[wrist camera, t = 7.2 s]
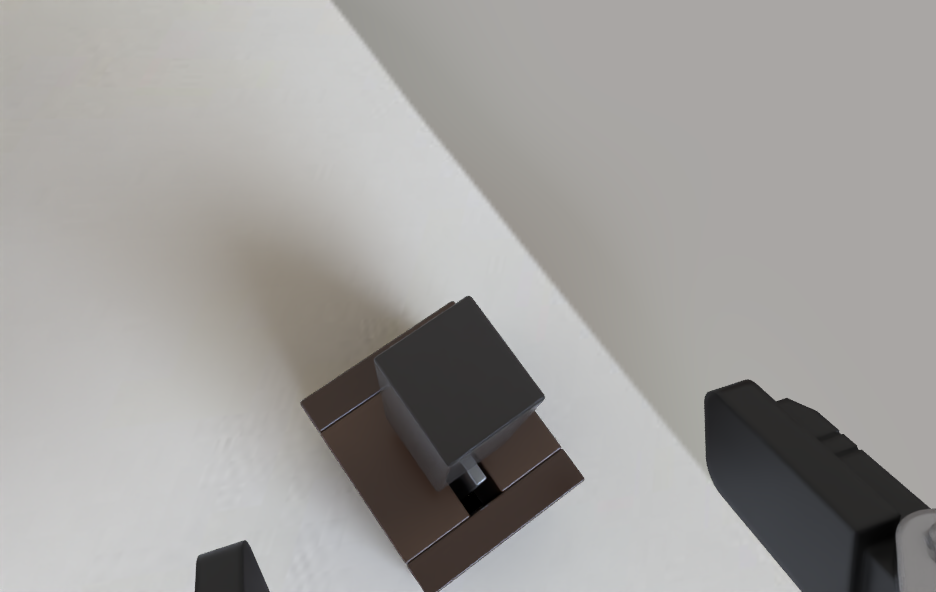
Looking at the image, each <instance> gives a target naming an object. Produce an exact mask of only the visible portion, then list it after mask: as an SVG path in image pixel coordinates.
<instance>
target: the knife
mask: <svg viewBox="0 0 936 592" xmlns="http://www.w3.org/2000/svg"><path fill="white" fill-rule="evenodd" d="M374 363H375V368H376V373H377V377H378V382H379V387H380V392H381V397H382V402H383V406H384V411H385V416H386V419H387V420H388V422H389V423H390V425H391V426H392V427H393V429H394V430H395V432H396V433H397V435H398V436H399V438H400V439H401V441H402V442H403V444H404V445H405V446H406V448H407V449H408V451H409V452H410V454H411V455H412V457H413V458H414V460H415V461H416V463H417V464H418V465H419V467H420V468H421V470H422V471H423V473H424V474H425V476H426V477H427V479H428V480H429V481H430V483H431V484H432V486H433V487H434V489H435V490H436V491H437V492H439V491H441V490H442V489H444V488H445V487H446V486H448V485H449V486H450V487H451V489H452V490H453V491H454V493H455V494H456V496H457V497H458V499H459V500H460V502H461V501H462V500H463V499H465V498H466V497H467V496H468V495H469V494H470V493H471V492H472V491H473V490H475V489H476V488H477V487H478V486H479V485H480V484H481V483H482V482H483V481H484V480H486V476H485V475H484V473H483V472H482V470H481V469H480V468H479V466H478V465H477V464H478V463H479V462H481V461H482V460H483V459H485V458H486V457H487V456H489V455H490V454H492V453H493V452H494V451H496V450H497V449H498V448H500V447H501V446H502V445H504V444H505V443H506V442H507V440H508V439H509V438H510V437H511V436H512V435H513V434H514V433H515V432H516V430H517V429H518V428H519V427H520V426H521V425H522V424H523V423H524V422H525V420H526V419H527V418H528V417H529V416H530V415H531V414H532V413H533V412H534V410H535V409H536V408H537V407H538V406H539V405H540V404H541V403H542V401H543V400H544V399H545V396H544V394H543V393H542V391H541V390H540V389H539V387H538V386H537V385H536V383H535V382H534V381H533V379H532V378H531V376H530V375H529V374H528V372H527V371H526V370H525V368H524V367H523V366H522V364H521V363H520V362H519V360H518V359H517V358H516V356H515V355H514V354H513V352H512V351H511V350H510V348H509V347H508V346H507V344H506V343H505V342H504V340H503V339H502V337H501V336H500V335H499V333H498V332H497V331H496V329H495V328H494V327H493V325H492V324H491V323H490V321H489V320H488V319H487V317H486V316H485V315H484V313H483V312H482V311H481V309H480V308H479V307H478V305H477V304H476V302H475V301H474V300H473V298H472V297H470V296H466V297H465V298H463V299H462V300H460V301H459V302H457V303H456V304H454V305H453V306H451V307H450V308H448V309H447V310H445V311H444V312H442V313H441V314H439V315H438V316H436V317H435V318H433V319H432V320H430V321H429V322H427V323H426V324H424V325H423V326H421V327H420V328H418V329H417V330H415V331H414V332H412V333H411V334H409V335H408V336H406V337H405V338H403V339H402V340H400V341H399V342H397V343H396V344H394V345H393V346H391V347H390V348H388V349H387V350H385V351H384V352H382V353H381V354H379V355H378V356H376V357H375V358H374Z"/></svg>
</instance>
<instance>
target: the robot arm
mask: <svg viewBox="0 0 936 592" xmlns="http://www.w3.org/2000/svg"><path fill="white" fill-rule="evenodd" d="M704 404H705V405H704V409H705V440H706V441H705V443H706V462H707V467H708V471H709V474H710V476H711V479H712V481H713V483H714V485H715V487H716V489H717V490H718V492H719V493H720V494H721V496H722V497H723V498H724V499H725V500H726V502H727V503H728V504H729V505H730V506H731V508H732V509H733V510H734V511H735V512H736V514H737V515H738V516H739V517H740V518H741V520H742V521H743V522H744V523H745V524H746V526H747V527H748V528H749V529H750V530H751V531H752V533H753V534H754V535H755V536H756V537H757V539H758V540H759V541H760V542H761V543H762V545H763V546H764V547H765V548H766V549H767V551H768V552H769V553H770V554H771V555H772V557H773V558H774V559H775V560H776V561H777V563H778V564H779V565H780V566H781V567H782V569H783V570H784V571H785V572H786V573H787V575H788V576H789V577H790V578H791V579H792V581H793V582H794V583H795V584H796V585H797V586H798V588H799V589H800V590H801V591H802V592H936V509H931V508H929V507H928V506H927V505H926V504H924V503H923V502H922V501H921V500H920V499H919V498H917V497H916V496H915V495H914V494H913V493H912V492H910V491H909V490H908V489H907V488H906V487H905V486H903V485H902V484H901V483H900V482H899V481H898V480H896V479H895V478H894V477H893V476H892V475H890V474H889V473H888V472H887V471H886V470H885V469H883V468H882V467H881V466H880V465H879V464H878V463H877V462H876V461H874V460H873V459H872V458H871V457H870V456H869V455H867V454H866V453H865V452H864V451H863V450H858V448H857V445H856V444H854V443H853V442H852V441H851V440H850V439H849V438H847V437H846V436H845V435H844V434H840V433H839V430H838V429H837V428H836V427H835V426H833V425H832V424H831V423H830V422H829V421H828V420H827V419H825V418H824V417H823V416H822V415H821V414H820V413H818V412H817V411H815V410H813V409H811V408H808V407H806V406H804V405H802V404H799V403H797V402H795V401H793V400H790V399H788V398H785V399H782V400H779V401H775V400H774V399H773V398H772V397H770V396H769V395H768V394H767V393H766V392H765V391H764V390H763V389H762V388H760V387H759V386H758V385H757V384H756V383H755V382H753V381H751V380H743V381H741V382H737V383H734V384H731V385H728V386H725V387H722V388H719V389H716V390H712V391H710V392H708V393H707V394H706V396H705V400H704ZM195 592H270V591H269V589H268V587H267V584H266V582H265V580H264V577H263V575H262V573H261V570H260V568H259V566H258V563H257V561H256V559H255V557H254V554H253V552H252V550H251V547H250V545H249V544H248V542H247V541H246V540H244V541H241V542H238V543H235V544H232V545H229V546H225V547H222V548H219V549H216V550H213V551H210V552H207V553H204V554H201V555H199V556H198V558H197V562H196V580H195Z"/></svg>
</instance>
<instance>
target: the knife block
mask: <svg viewBox="0 0 936 592" xmlns="http://www.w3.org/2000/svg"><path fill="white" fill-rule="evenodd" d="M454 304H456V303H455V302H453V301H451V302H450V303H448V304H446V305H445V306H443V307H442V308H440V309H439V310H437V311H436V312H434V313H433V314H431V315H430V316H428V317H427V318H425V319H424V320H422V321H421V322H419V323H418V324H416V325H415V326H413V327H412V328H410V329H409V330H407V331H406V332H404V333H403V334H401V335H400V336H398V337H397V338H395V339H394V340H392V341H391V342H389V343H388V344H386V345H385V346H383V347H382V348H380V349H379V350H377V351H376V352H374V353H373V354H371V355H370V356H368V357H367V358H365V359H364V360H362V361H361V362H359V363H358V364H356V365H355V366H353V367H352V368H350V369H349V370H347V371H346V372H344V373H343V374H341V375H340V376H338V377H337V378H335V379H334V380H332V381H331V382H329V383H328V384H326V385H325V386H323V387H322V388H320V389H319V390H317V391H316V392H314V393H313V394H311V395H310V396H308V397H307V398H305V399H303V400H302V401H301V402H300V404H301V406H302V408H303V409H304V411H305V412H306V414H307V415H308V417H309V418H310V420H311V421H312V423H313V424H314V426H315V427H316V429H317V430H318V432H319V433H320V434H321V436H322V438H323V439H324V441H325V442H326V444H327V445H328V447H329V448H330V450H331V452H332V453H333V455H334V456H335V458H336V459H337V461H338V462H339V464H340V465H341V467H342V468H343V470H344V471H345V473H346V474H347V476H348V477H349V479H350V480H351V482H352V483H353V485H354V486H355V488H356V489H357V491H358V492H359V494H360V495H361V497H362V498H363V500H364V502H365V503H366V505H367V506H368V508H369V509H370V511H371V512H372V514H373V515H374V517H375V518H376V520H377V521H378V523H379V524H380V526H381V527H382V529H383V530H384V532H385V533H386V535H387V536H388V538H389V539H390V541H391V542H392V544H393V545H394V547H395V548H396V550H397V551H398V553H399V555H400V556H401V558H402V559H403V561H404V562H405V563H406V564H407V567H408V568H409V570H410V571H411V573H412V574H413V576H414V577H415V579H416V580H417V582H418V583H419V585H420V586H421V588H422V589H423V591H424V592H439V591H440V590H442V589H443V588H444V587H445V586H447V585H448V584H449V583H451V582H452V581H453V580H455V579H456V578H457V577H459V576H460V575H461V574H462V573H464V572H465V571H466V570H468V569H469V568H470V567H472V566H473V565H474V564H476V563H477V562H478V561H479V560H481V559H482V558H483V557H485V556H486V555H487V554H489V553H490V552H491V551H493V550H494V549H495V548H496V547H498V546H499V545H500V544H502V543H503V542H504V541H506V540H507V539H508V538H509V537H511V536H512V535H513V534H515V533H516V532H517V531H519V530H520V529H521V528H523V527H524V526H525V525H526V524H528V523H529V522H530V521H532V520H533V519H534V518H536V517H537V516H538V515H540V514H541V513H542V512H543V511H545V510H546V509H547V508H549V507H550V506H551V505H553V504H554V503H555V502H557V501H558V500H559V499H560V498H562V497H563V496H564V495H566V494H567V493H568V492H570V491H571V490H572V489H574V488H575V487H576V486H577V485H579V484H580V483H581V482H583V481H584V477H583V476H582V474H581V473H580V471H579V470H578V469H577V467H576V466H575V465H574V463H573V462H572V461H571V459H570V458H569V457H568V455H567V454H566V452H565V451H564V450H563V449H561V446H560V444H559V443H558V442H557V440H556V439H555V438H554V436H553V435H552V434H551V432H550V431H549V430H548V428H547V427H546V425H545V424H544V423H543V421H542V420H541V419H540V417H539V416H538V415H537V413H536V412H535V410H534V412H533V413H532V414H531V415H530V416H529V417H528V418H527V419H526V420H525V422H524V423H523V424H522V425H521V426H520V427H519V428H518V429H517V430H516V432H515V433H514V434H513V435H512V436H511V437H510V438H509V439H508V440H507V442H506V443H505V444H504V445H502V446H501V447H500V448H498V449H497V450H496V451H494V452H493V453H492V454H490V455H489V456H487V457H486V458H485V459H483V460H482V461H481V462H479V463H478V464H477V465H478V466H479V468H480V469H481V470H482V472H483V473H484V475H485V476H486V480H484V481H483V482H482V483H481V484H480V485H479V486H478V487H477V488H476V489H475V490H473V491H474V493H475V494H476V495H477V497H478V498H479V500H480V501H481V503H484V504H483V505H481V506H480V507H479V508H477V509H476V510H475V511H473V512H472V513H471V514H469V513H468V512H467V510H466V509H465V507H464V506H463V504H462V503H461V502H460V500H459V499H458V497H457V496H456V494H455V493H454V491H453V490H452V489H451V487H450V486H449V485H448V486H446V487H445V488H444V489H442V490H441V491H439V492H437V491H436V490H435V489H434V487H433V486H432V484H431V483H430V481H429V480H428V479H427V477H426V476H425V474H424V473H423V471H422V470H421V468H420V467H419V465H418V464H417V463H416V461H415V460H414V458H413V457H412V455H411V454H410V452H409V451H408V449H407V448H406V446H405V445H404V444H403V442H402V441H401V439H400V438H399V436H398V435H397V433H396V432H395V430H394V429H393V427H392V426H391V425H390V423H389V422H388V420H387V419H386V416H385V411H384V406H383V402H382V397H381V392H380V387H379V382H378V377H377V373H376V368H375V363H374V358H375V357H376V356H378V355H379V354H381V353H382V352H384V351H385V350H387V349H388V348H390V347H391V346H393V345H394V344H396V343H397V342H399V341H400V340H402V339H403V338H405V337H406V336H408V335H409V334H411V333H412V332H414V331H415V330H417V329H418V328H420V327H421V326H423V325H424V324H426V323H427V322H429V321H430V320H432V319H433V318H435V317H436V316H438V315H439V314H441V313H442V312H444V311H445V310H447V309H448V308H450V307H451V306H453V305H454Z"/></svg>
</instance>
